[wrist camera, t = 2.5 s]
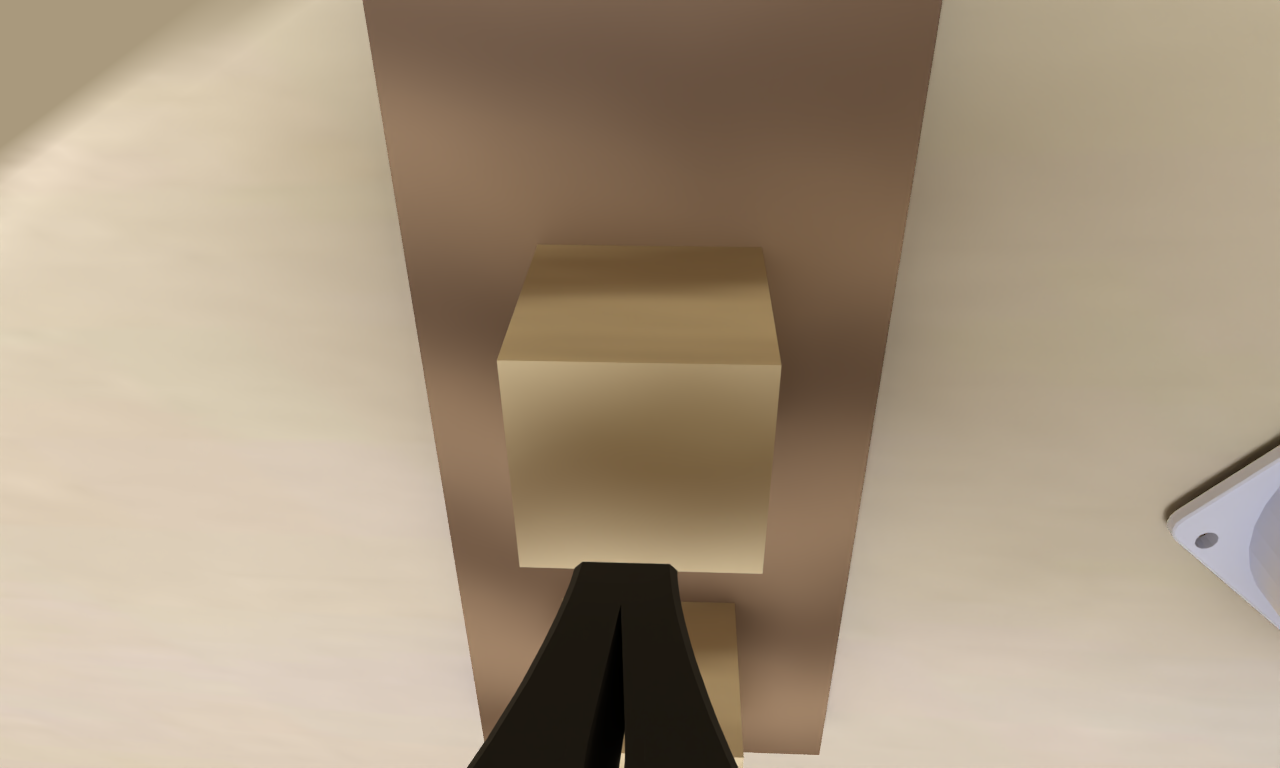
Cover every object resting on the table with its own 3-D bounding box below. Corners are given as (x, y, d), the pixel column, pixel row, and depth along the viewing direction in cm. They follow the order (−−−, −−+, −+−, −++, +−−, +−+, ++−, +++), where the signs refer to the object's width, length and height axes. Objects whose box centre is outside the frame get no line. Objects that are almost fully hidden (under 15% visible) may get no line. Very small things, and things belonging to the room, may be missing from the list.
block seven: (562, 598, 23) (536, 762, 19) (735, 602, 23) (744, 770, 19) (570, 708, 26) (549, 875, 22) (727, 714, 26) (733, 883, 22)
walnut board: (295, -559, 13) (266, -587, 12) (1017, -580, 12) (1041, -608, 11) (490, 714, 28) (484, 742, 27) (814, 725, 27) (819, 754, 26)
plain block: (537, 244, 18) (497, 360, 14) (762, 247, 18) (781, 365, 14) (551, 426, 20) (519, 567, 17) (748, 430, 20) (762, 573, 16)
